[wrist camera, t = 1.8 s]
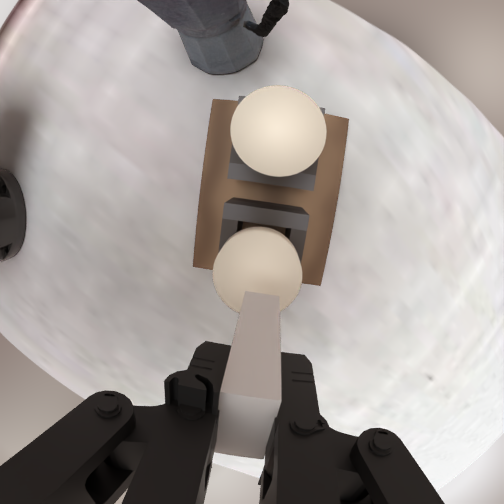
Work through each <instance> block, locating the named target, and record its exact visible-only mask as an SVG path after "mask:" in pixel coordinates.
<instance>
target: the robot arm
mask: <svg viewBox="0 0 504 504" xmlns="http://www.w3.org/2000/svg"><path fill="white" fill-rule="evenodd" d="M25 226H26V214H25V205H24V199H23V195H22V192H21V189H20V187H19V184H18V182H17V180H16V179H15V177H14V176H13V175H12V174H11V173H10V172H9V171H7V170H5V169H0V261H4V260H7V259H9V258H11V257H13V256H15V255H16V254H17V253H18V251H19V250H20V248H21V245H22V243H23V239H24V235H25ZM314 382H315V381H314V375H313V369H312V364H311V362H310V361H309V360H308V358H307V357H306V356H305V355H301V354H293V353H284V352H281V339H280V302H279V296H275V295H268V294H262V293H255V292H249V291H245V294H244V298H243V302H242V306H241V310H240V314H239V318H238V322H237V326H236V330H235V334H234V338H233V342H232V346H230V345H224V344H219V343H213V342H208V341H205V342H204V343H203V344H201V345H200V346H198V347H197V348H196V351H195V353H194V355H193V358H192V360H191V362H190V365H189V367H188V369H187V370H184V371H177V372H175V373H173V374H171V375H169V376H168V377H167V378H166V380H165V381H164V387H165V404H163V405H159V406H133V404H132V402H131V401H130V399H129V398H127V397H126V396H125V395H124V394H121V393H118V392H116V391H101V392H97V393H95V394H93V395H91V396H89V397H88V398H87V399H86V400H84V401H83V402H82V403H81V404H79V405H78V406H77V407H76V408H74V409H73V410H72V411H70V412H69V413H68V414H67V415H65V416H64V417H63V418H62V419H60V420H59V421H58V422H56V423H55V424H54V425H53V426H52V427H50V428H49V429H48V430H46V431H45V432H44V433H43V434H41V435H40V436H39V437H37V438H36V439H35V440H33V441H32V442H31V443H30V444H28V445H27V446H26V447H24V448H23V449H22V450H21V451H19V452H18V453H17V454H15V455H14V456H13V457H12V458H10V459H9V460H8V461H6V462H5V463H4V464H2V465H1V466H0V504H114V503H115V502H116V501H117V500H118V499H119V497H120V496H121V495H122V494H123V493H124V492H125V491H126V489H127V488H128V487H129V488H128V490H127V492H126V495H125V497H124V499H123V502H122V504H204V500H205V495H206V490H207V485H208V481H209V477H210V472H211V468H212V458H213V454H214V452H216V453H222V454H228V455H234V456H241V457H248V458H257V459H264V456H265V465H264V468H263V471H262V474H261V477H260V479H259V482H258V485H261V488H260V502H259V504H444V502H443V501H442V499H441V498H440V496H439V495H438V493H437V492H436V490H435V489H434V487H433V486H432V484H431V483H430V481H429V480H428V479H427V477H426V476H425V474H424V473H423V471H422V470H421V468H420V467H419V465H418V464H417V462H416V461H415V460H414V458H413V457H412V455H411V454H410V452H409V451H408V449H407V448H406V447H405V445H404V444H403V442H402V441H401V439H400V438H399V437H398V436H397V435H396V434H395V433H393V432H391V431H389V430H387V429H382V428H370V429H368V430H366V431H363V432H362V434H361V435H360V436H359V437H356V436H352V435H348V434H344V433H341V432H338V431H335V430H334V429H332V428H330V427H329V425H328V423H327V421H326V420H325V419H324V418H323V417H322V416H321V415H320V413H319V406H318V400H317V393H316V387H315V383H314Z"/></svg>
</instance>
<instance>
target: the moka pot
mask: <svg viewBox="0 0 504 504" xmlns="http://www.w3.org/2000/svg"><path fill="white" fill-rule="evenodd" d="M138 1H139V2H140V3H142V4H143V5H144V6H146V7H147V8H149V9H150V10H151V11H152V12H154V13H155V14H156V15H157V16H159V17H160V18H161V19H162V20H164V21H165V22H166V23H167V24H169V25H170V26H171V27H172V28H175V29H177V30H178V32H179V35H180V37H181V39H182V41H183V44H184V46H185V49H186V51H187V53H188V56H189V58H190V61H191V63H192V65H194V66H195V67H197V68H199V69H201V70H203V71H205V72H207V73H210V74H226V73H232V72H236V71H239V70H241V69H243V68H244V67H246V66H247V65H249V64H250V63H252V62H253V61H255V60H256V59H257V57H258V55H259V53H260V51H261V48H262V44H263V37H265V36H267V35H268V34H269V33H270V32H271V30H272V29H273V27H274V26H275V25H276V23H277V22H278V21H279V20H280V19H281V18H282V17H283V15H285V14H286V13H287V12H288V7H289V1H288V0H272V1H271V2H270V4H269V6H268V7H267V10H266V11H265V13H264V15H263V18H262V22H261V23H260V24H259V25H258V24H257V23H256V21H255V19H254V17H253V15H252V13H251V11H250V9H249V6H248V5H247V2H246V0H138Z"/></svg>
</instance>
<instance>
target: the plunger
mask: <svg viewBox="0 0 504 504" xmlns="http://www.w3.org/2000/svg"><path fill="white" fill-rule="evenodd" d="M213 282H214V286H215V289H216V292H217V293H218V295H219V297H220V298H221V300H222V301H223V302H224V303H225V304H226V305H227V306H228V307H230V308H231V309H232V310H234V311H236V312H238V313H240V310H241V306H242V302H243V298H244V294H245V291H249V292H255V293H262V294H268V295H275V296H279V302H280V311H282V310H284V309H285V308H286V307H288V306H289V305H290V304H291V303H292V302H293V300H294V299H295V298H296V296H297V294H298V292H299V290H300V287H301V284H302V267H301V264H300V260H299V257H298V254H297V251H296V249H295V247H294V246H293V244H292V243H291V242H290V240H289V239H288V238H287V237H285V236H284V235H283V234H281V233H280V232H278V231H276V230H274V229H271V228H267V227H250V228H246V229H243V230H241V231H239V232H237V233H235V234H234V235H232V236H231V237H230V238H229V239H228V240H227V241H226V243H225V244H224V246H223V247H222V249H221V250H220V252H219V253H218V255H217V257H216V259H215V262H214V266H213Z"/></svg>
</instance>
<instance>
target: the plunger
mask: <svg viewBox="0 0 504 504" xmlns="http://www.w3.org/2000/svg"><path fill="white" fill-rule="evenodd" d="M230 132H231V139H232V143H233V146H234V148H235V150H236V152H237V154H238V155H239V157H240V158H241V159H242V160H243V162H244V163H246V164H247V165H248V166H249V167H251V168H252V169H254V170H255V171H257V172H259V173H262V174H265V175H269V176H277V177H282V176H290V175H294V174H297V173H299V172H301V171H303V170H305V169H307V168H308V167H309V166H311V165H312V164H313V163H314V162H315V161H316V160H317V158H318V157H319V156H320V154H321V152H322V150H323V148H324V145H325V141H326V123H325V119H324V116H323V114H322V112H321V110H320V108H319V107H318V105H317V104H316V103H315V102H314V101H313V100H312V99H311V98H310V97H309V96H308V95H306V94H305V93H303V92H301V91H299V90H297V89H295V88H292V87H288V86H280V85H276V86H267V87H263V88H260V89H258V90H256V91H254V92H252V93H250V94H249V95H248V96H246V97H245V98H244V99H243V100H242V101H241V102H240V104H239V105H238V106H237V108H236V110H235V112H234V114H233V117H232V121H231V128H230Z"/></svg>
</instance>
